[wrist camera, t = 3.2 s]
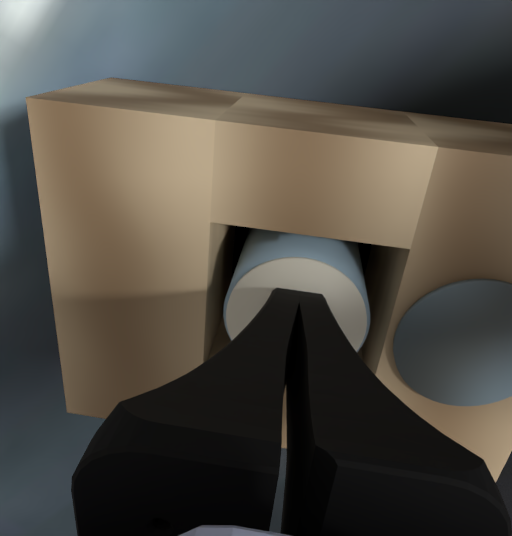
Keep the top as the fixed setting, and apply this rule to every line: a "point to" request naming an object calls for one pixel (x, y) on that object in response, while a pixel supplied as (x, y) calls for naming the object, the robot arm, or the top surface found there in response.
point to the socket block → (283, 220)
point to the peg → (299, 279)
